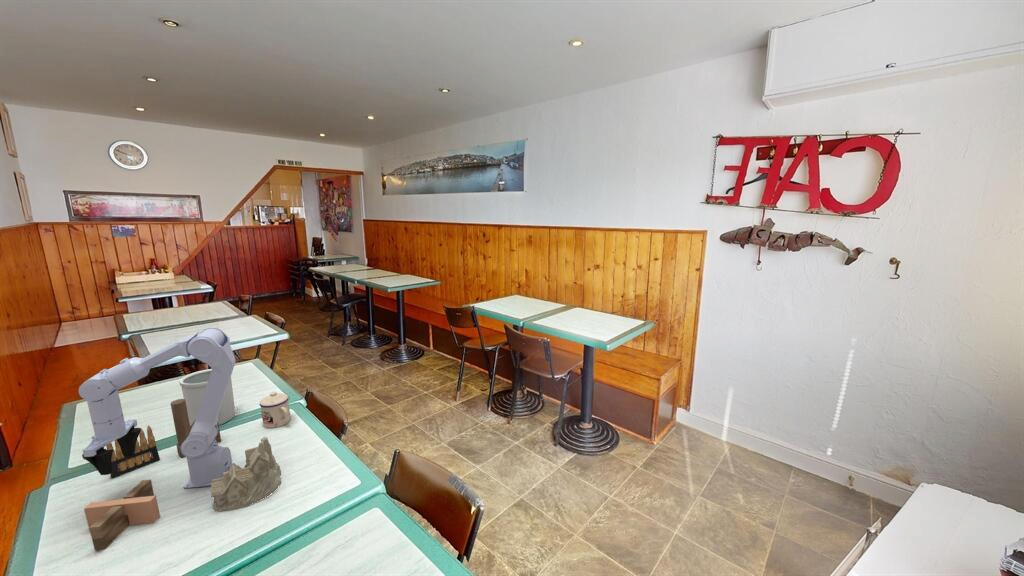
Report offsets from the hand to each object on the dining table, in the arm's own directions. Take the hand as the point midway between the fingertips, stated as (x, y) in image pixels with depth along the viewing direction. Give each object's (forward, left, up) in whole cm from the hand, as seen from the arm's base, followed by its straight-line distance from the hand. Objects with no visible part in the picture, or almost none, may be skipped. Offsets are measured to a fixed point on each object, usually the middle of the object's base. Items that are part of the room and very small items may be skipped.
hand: (118, 464), depth 105 cm
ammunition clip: (+6, -13, -10) cm, 17 cm away
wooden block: (-7, -21, -10) cm, 24 cm away
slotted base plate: (-8, +11, -9) cm, 17 cm away
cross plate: (-8, +11, -9) cm, 16 cm away
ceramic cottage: (-32, +3, -10) cm, 34 cm away
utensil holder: (-1, -40, -10) cm, 41 cm away
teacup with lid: (-27, -33, -10) cm, 43 cm away
